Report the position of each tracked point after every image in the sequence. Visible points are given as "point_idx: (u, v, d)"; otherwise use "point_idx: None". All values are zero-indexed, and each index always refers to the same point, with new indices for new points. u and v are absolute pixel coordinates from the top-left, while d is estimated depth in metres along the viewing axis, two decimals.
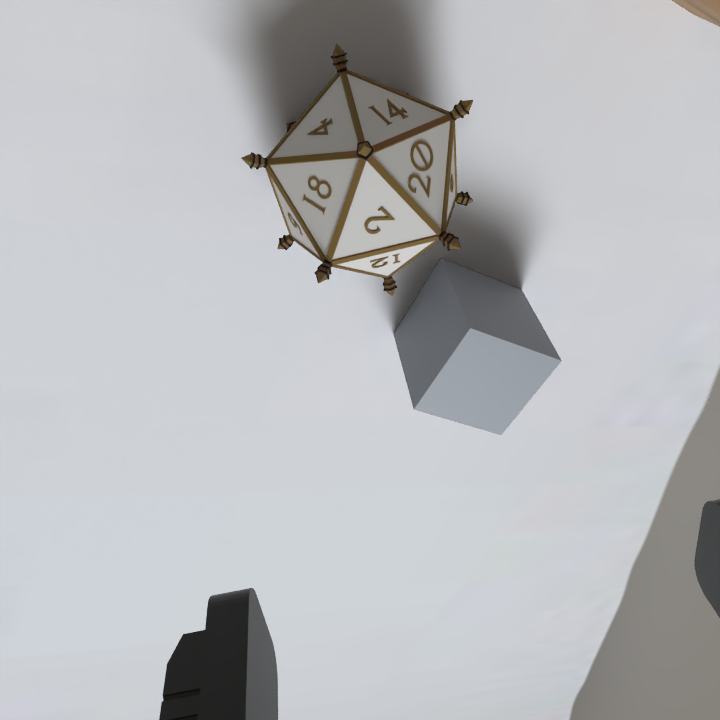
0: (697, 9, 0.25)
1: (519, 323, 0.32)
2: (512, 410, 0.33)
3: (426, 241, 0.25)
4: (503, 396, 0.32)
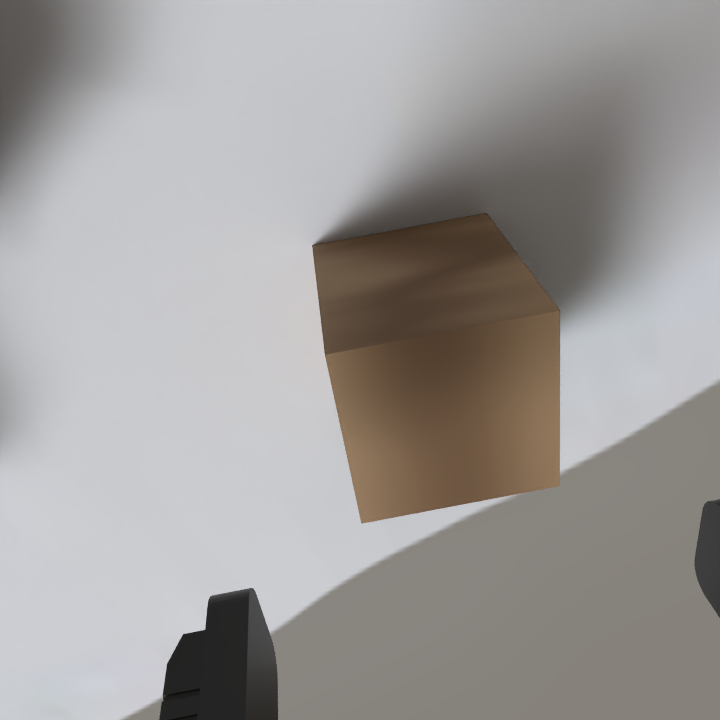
0: None
1: None
2: None
3: None
4: None
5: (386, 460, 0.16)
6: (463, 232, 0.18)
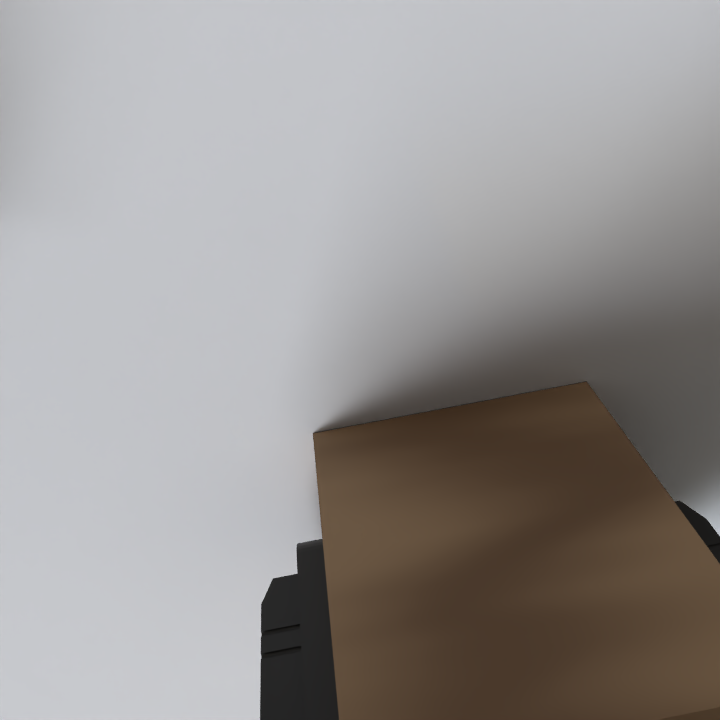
0: None
1: None
2: None
3: None
4: None
5: None
6: (559, 427, 0.11)
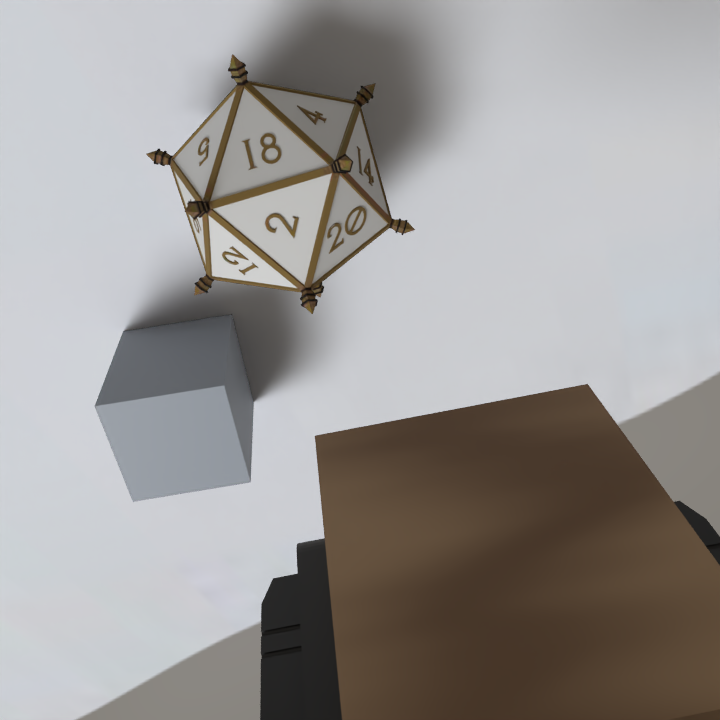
0: None
1: (244, 422, 0.30)
2: (168, 488, 0.29)
3: (292, 281, 0.23)
4: (176, 469, 0.28)
5: None
6: (560, 429, 0.11)
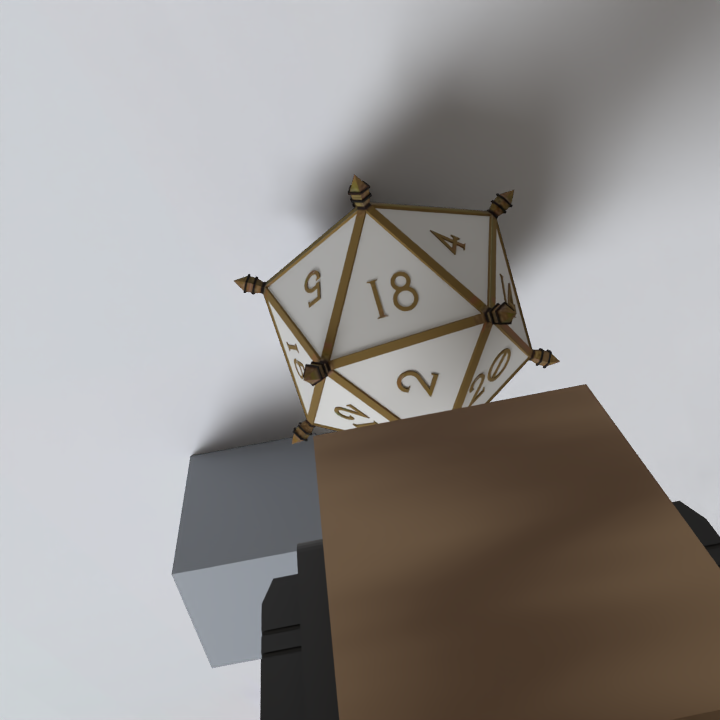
0: None
1: None
2: (253, 652, 0.24)
3: None
4: None
5: None
6: (559, 430, 0.11)
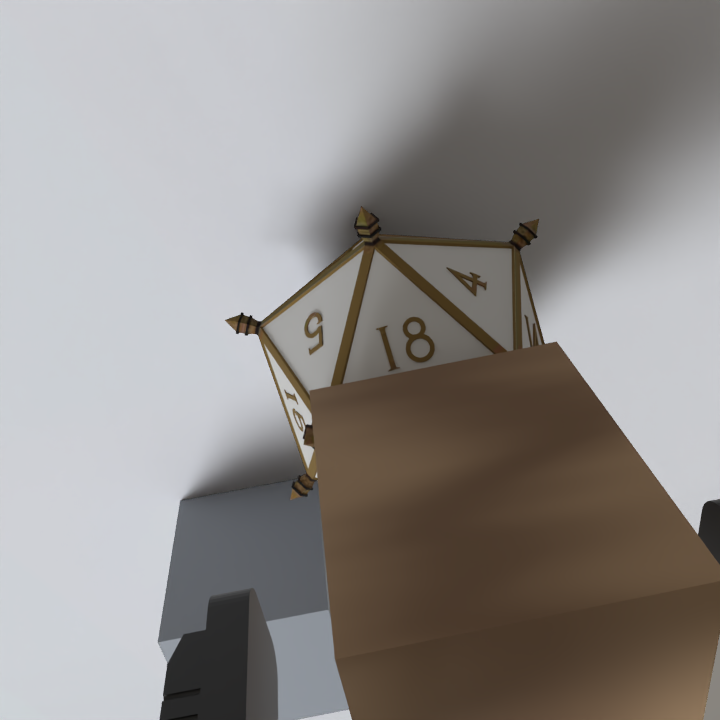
0: None
1: None
2: None
3: None
4: None
5: None
6: (530, 380, 0.13)
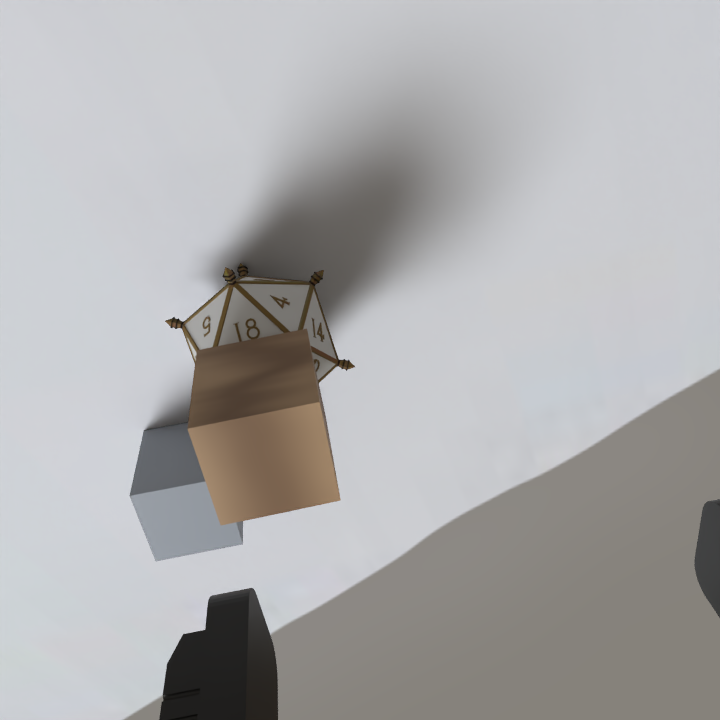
0: None
1: None
2: (181, 550, 0.39)
3: None
4: (188, 537, 0.39)
5: (231, 487, 0.27)
6: (288, 344, 0.30)
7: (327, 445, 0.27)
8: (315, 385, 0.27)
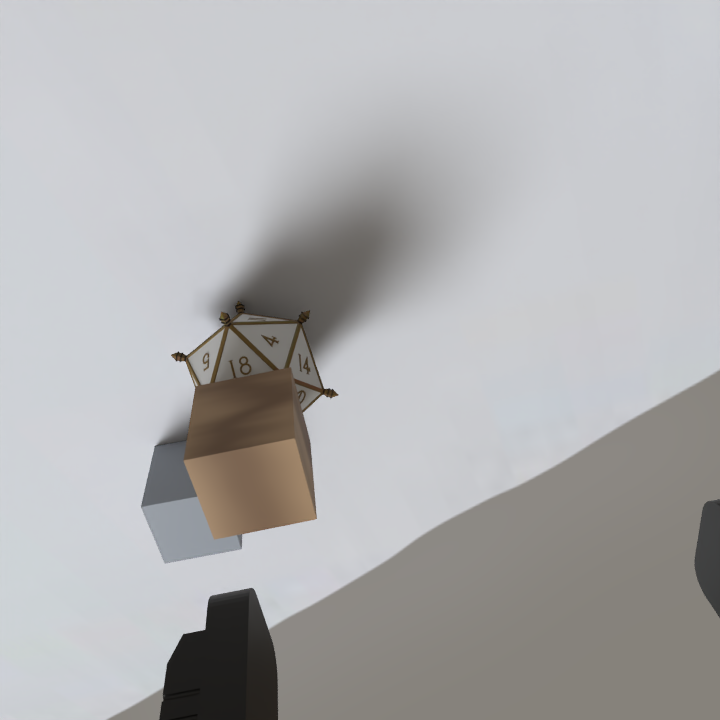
0: None
1: None
2: (187, 554, 0.44)
3: None
4: (193, 542, 0.44)
5: (222, 508, 0.32)
6: (273, 382, 0.34)
7: (303, 473, 0.31)
8: (293, 422, 0.31)
